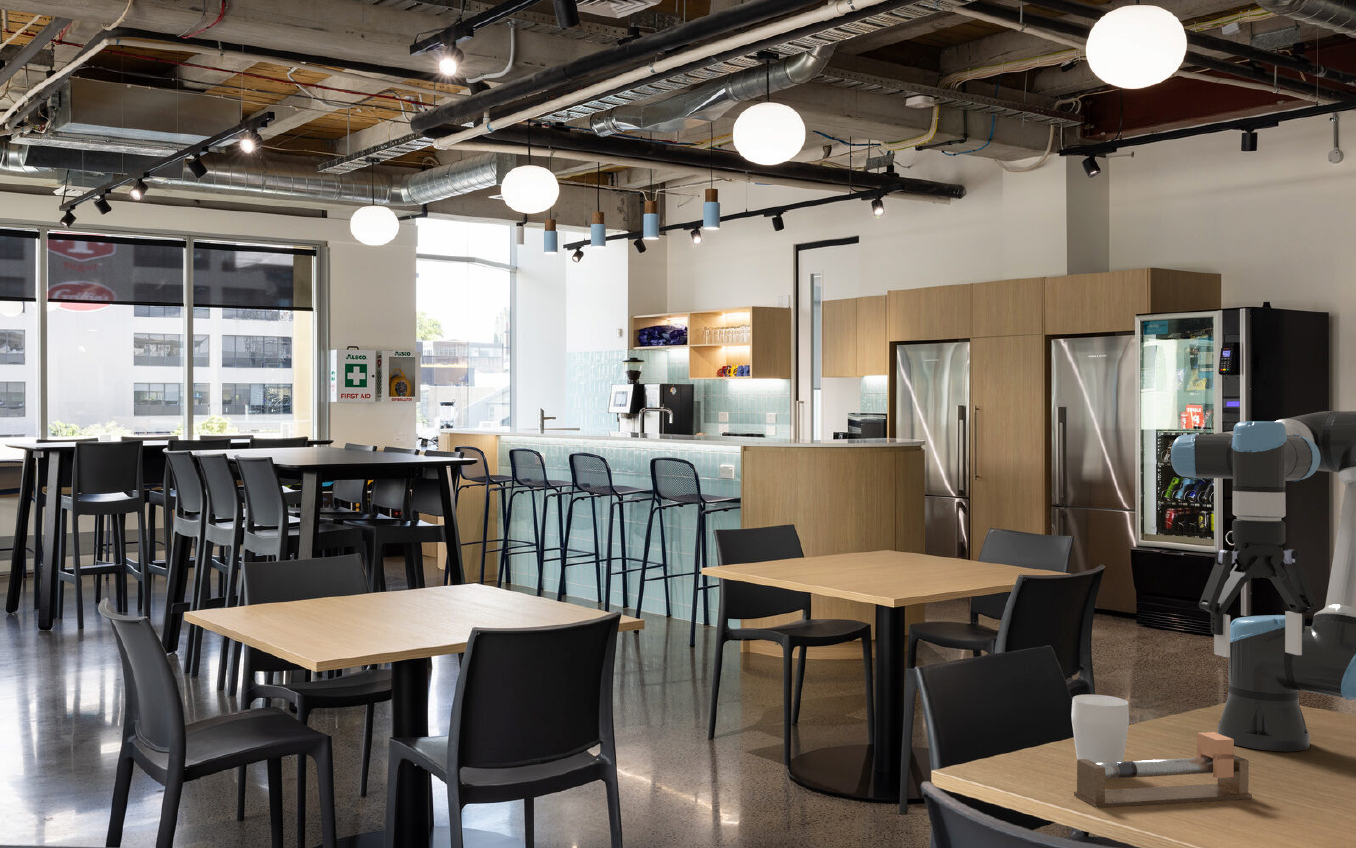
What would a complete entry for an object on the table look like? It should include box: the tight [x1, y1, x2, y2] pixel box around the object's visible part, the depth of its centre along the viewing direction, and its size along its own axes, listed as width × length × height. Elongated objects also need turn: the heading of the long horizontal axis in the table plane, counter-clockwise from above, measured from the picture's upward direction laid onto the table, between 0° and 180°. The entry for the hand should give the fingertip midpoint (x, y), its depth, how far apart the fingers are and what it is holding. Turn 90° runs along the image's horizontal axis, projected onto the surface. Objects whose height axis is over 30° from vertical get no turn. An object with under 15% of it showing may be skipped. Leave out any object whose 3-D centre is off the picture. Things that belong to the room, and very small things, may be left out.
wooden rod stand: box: [1073, 754, 1253, 808], centre depth 178 cm, size 27×6×6 cm, turn 103°
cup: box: [1071, 694, 1130, 763], centre depth 191 cm, size 9×9×12 cm
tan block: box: [1196, 731, 1235, 779], centre depth 180 cm, size 3×5×6 cm, turn 13°
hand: (1257, 655), depth 182 cm, fingers open, 12 cm apart
